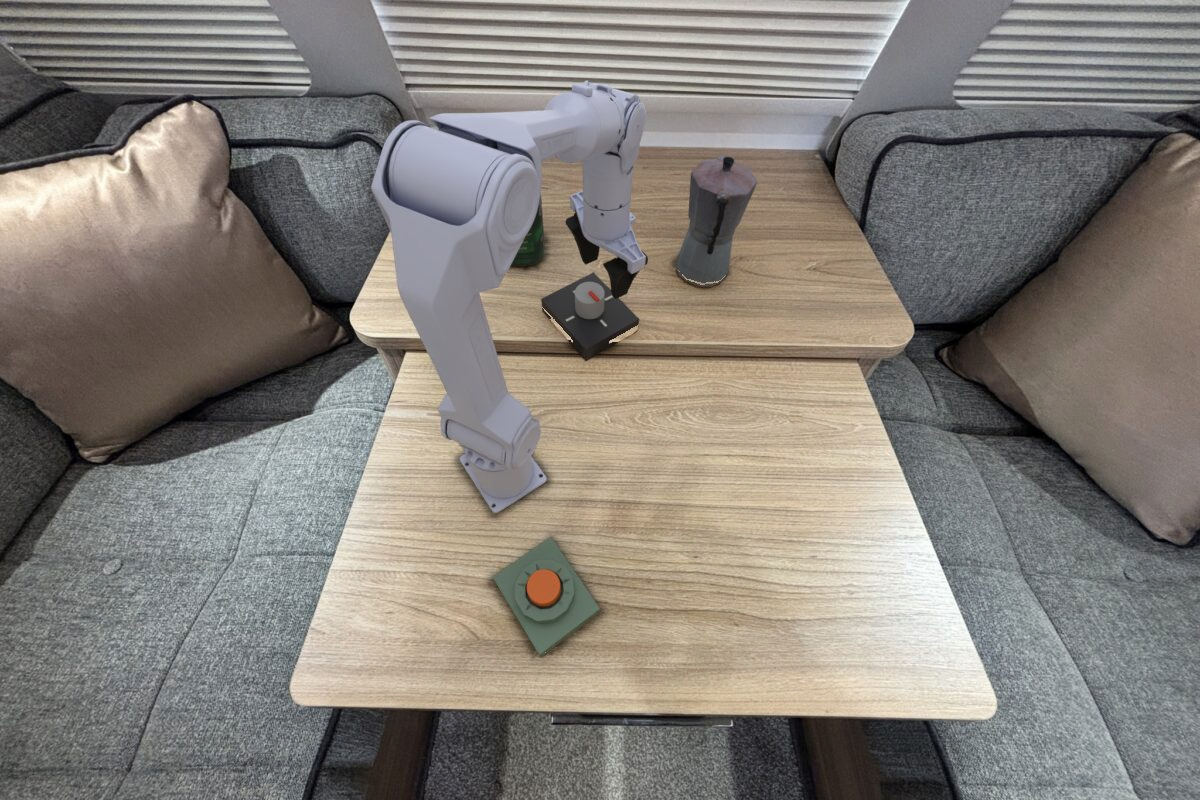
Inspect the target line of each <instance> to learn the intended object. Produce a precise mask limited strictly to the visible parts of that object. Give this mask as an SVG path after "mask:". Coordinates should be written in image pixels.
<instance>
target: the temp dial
mask: <svg viewBox="0 0 1200 800" xmlns="http://www.w3.org/2000/svg"><path fill="white" fill-rule="evenodd" d="M604 295H605V292H604V289H603V287H602V286H601V285H599V284H598V283H595V282H584V283H582V284H580V285H578V286H577V288H576V289H575V310H576V313H577V314H578V315H579V316H580V317H582V318H584V319H595V318H598V317H599V316H601V315H602V313H603V311H604Z"/></svg>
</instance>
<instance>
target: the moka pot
mask: <svg viewBox="0 0 1200 800" xmlns="http://www.w3.org/2000/svg"><path fill="white" fill-rule="evenodd" d="M689 181H690V182H689V197H688V215H687V217H688V219H689V224H688V229H687V231H686V234H685V236H684V238H683V242H682V244H681V247H680V251H679V253H678V254H677V258H676V263H675V271H676V272H677V274H678V275H679V277H680V278H682V280H684V281H685V282H687V283H689V284H690V285H694V286H697V287H700V288H706V287H713V286H717V285H719V284H721V283H722V282H723V281H724V280H725V279H727V278H728V275H729V271H730V270H729V268H730V261H731V255H732V254H731V253H732V246H733V237H734V235H735V232H736V229H737V227H738V226H739V225H740V223H741V221H742V219H743V216H744V214H745V212H746V211H747V207H748V205H749V203H750V200H751V198H752V196H753V194H754V192H755V189H756V187H757V185H758V180H757V178H756V176H755V175H754V174H753V172H752V170H751V168H750V167H749V166H748V165H745V164H743V163H740V162H737V161H736V160H735V159H734V157H733V156H732V155H724V154H720V155H719V156H718V157H717V158H713V159H712V158H711V159H703V160H701V161H700V162H699V163H698V164H697V165H696V166H695V167H694V169H692V170H691V173H690V179H689ZM678 270H679V271H680V272H679V271H678ZM682 274H683V275H684V276H685V277H686V278H687V279H691V280H694V281H697V282H701V283H706V282H714V281H715V282H716V281H719V280H721V279H722V278H723V277H724V276H725V275H726V276H725V277H724V278H723V279H722V280H721V281H719V282H718V283H713V284H705V285H700V284H697V283H695V282H691V281H689V280H686V279H685V278H684V277H683V276H682Z"/></svg>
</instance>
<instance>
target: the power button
mask: <svg viewBox="0 0 1200 800" xmlns="http://www.w3.org/2000/svg"><path fill="white" fill-rule="evenodd" d="M527 593H528V595H529V597H530V599H531V601H532V602H533V603H534V604H536V605H537V606H541V607H547V606H550V605H552V604H554V603H555V602H556V601H557V599H558V598H559V596H560V593H561V585H560V581H559V578H558V576H557V575H556V574H555V573H554V572H552V571H550V570H547V569H542V570H538V571H536V572H534V573H533V574H532V575H531V576H530V578H529V580H528V582H527Z"/></svg>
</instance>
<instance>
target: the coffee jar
mask: <svg viewBox="0 0 1200 800" xmlns="http://www.w3.org/2000/svg"><path fill="white" fill-rule="evenodd" d="M542 200H543V199H542V194H541V195H540V199H539V205H538V209H537V213H536V216H535V219H534V222H533V224H532V226H531V228H530V230H529V231H528V233H527V234H526V236H525V238H524V240H523V242H522V244H521V246H520V248H519V250H518V252H517V254H516V256H515V258H514V260H513V262H512V264H511V266H514V267H528V266H531V265H535V264H537V263H539V262H540V261H541V260H542V259H543V256H544V252H545V246H546V245H545V243H546V242H545V230H544V217H543V201H542Z"/></svg>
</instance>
